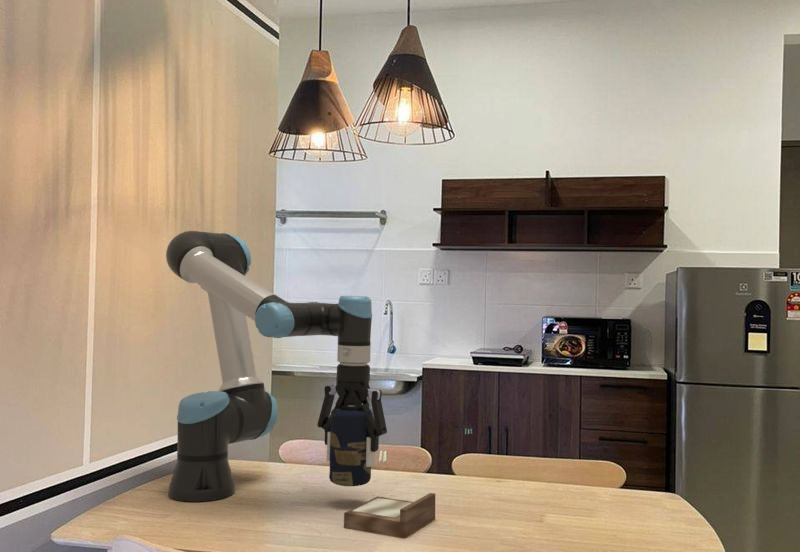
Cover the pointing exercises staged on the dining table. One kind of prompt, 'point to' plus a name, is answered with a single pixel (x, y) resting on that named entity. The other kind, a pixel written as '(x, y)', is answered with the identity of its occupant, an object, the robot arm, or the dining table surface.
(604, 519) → the dining table surface
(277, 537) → the dining table surface
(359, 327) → the robot arm
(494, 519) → the dining table surface
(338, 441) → the canister
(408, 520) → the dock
